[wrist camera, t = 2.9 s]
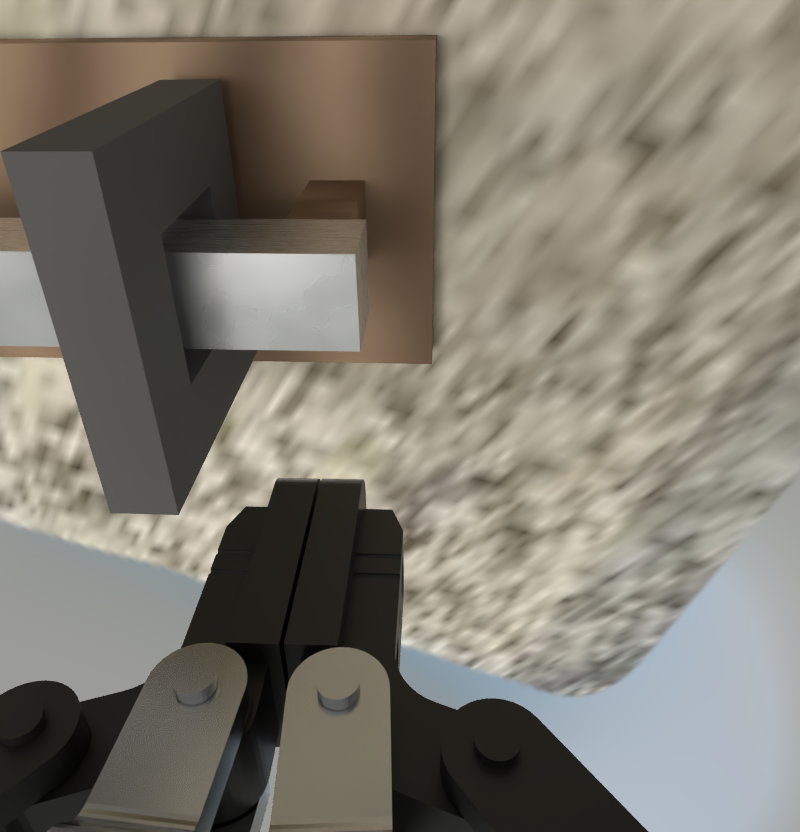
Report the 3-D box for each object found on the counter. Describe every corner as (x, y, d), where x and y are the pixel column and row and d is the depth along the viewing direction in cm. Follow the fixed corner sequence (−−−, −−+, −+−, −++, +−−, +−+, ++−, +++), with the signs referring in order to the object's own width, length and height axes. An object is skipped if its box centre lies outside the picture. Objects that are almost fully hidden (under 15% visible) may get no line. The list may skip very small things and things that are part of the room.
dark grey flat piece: (220, 79, 23) (92, 151, 15) (257, 351, 29) (178, 514, 21) (160, 79, 24) (0, 151, 15) (208, 350, 29) (110, 513, 21)
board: (436, 35, 25) (432, 57, 20) (432, 347, 31) (428, 423, 26) (-280, 41, 26) (-454, 64, 21) (-141, 338, 33) (-248, 408, 28)
